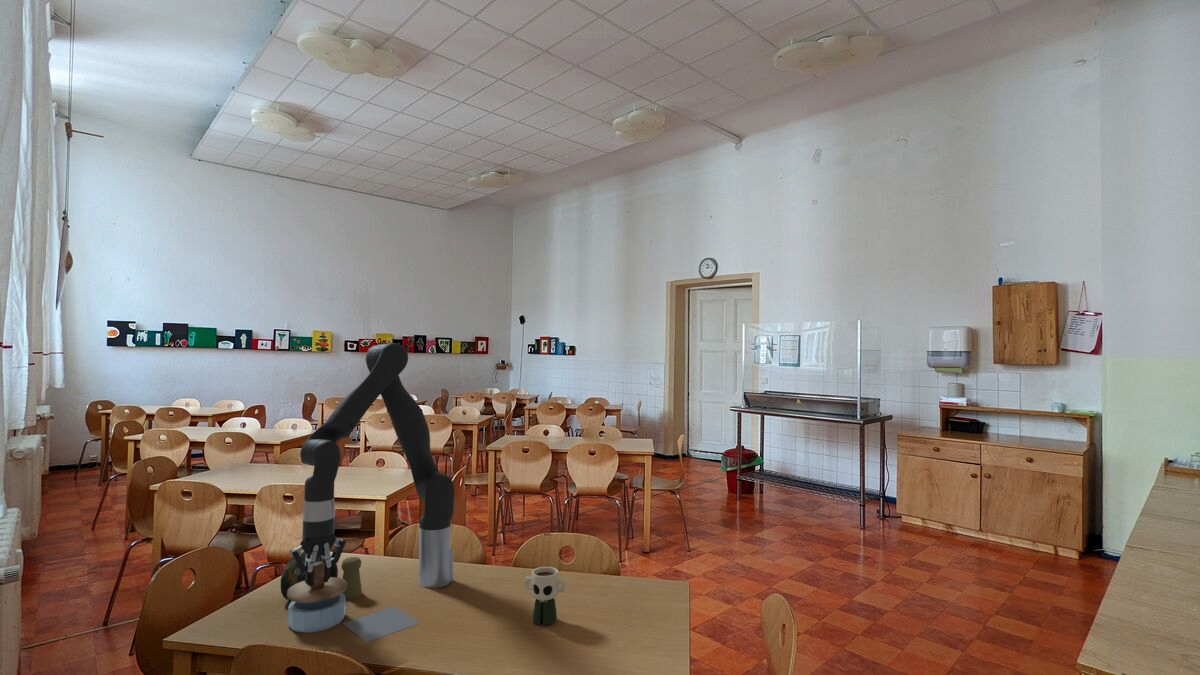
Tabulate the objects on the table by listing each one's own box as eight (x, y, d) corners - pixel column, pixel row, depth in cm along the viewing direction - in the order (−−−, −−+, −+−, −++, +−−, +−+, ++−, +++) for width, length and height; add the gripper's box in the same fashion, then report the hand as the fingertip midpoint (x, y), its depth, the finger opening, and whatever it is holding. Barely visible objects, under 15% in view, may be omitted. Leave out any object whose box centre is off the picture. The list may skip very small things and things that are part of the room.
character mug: (520, 625, 152) (520, 574, 152) (528, 613, 159) (529, 565, 159) (561, 629, 150) (561, 578, 150) (568, 617, 157) (568, 568, 157)
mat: (394, 608, 162) (394, 606, 162) (420, 625, 152) (420, 623, 152) (342, 625, 152) (342, 623, 152) (366, 644, 142) (366, 642, 142)
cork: (354, 602, 166) (354, 562, 166) (334, 600, 167) (335, 561, 167) (366, 593, 172) (367, 555, 172) (348, 591, 173) (348, 553, 173)
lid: (334, 576, 163) (334, 551, 163) (356, 591, 153) (356, 564, 153) (279, 591, 153) (279, 563, 153) (298, 607, 143) (299, 578, 143)
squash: (261, 580, 167) (289, 545, 164) (306, 565, 180) (332, 531, 177) (287, 622, 162) (316, 585, 159) (331, 602, 176) (358, 569, 173)
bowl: (332, 607, 162) (333, 587, 162) (353, 623, 153) (353, 601, 153) (281, 623, 153) (281, 601, 153) (299, 640, 144) (300, 617, 144)
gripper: (340, 508, 161) (339, 572, 161) (284, 518, 151) (283, 586, 151) (352, 514, 156) (350, 580, 156) (295, 524, 146) (293, 595, 145)
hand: (317, 583), depth 153 cm, fingers closed on lid, 3 cm apart
